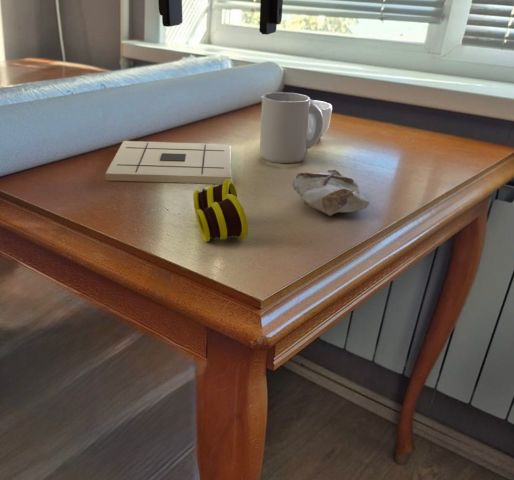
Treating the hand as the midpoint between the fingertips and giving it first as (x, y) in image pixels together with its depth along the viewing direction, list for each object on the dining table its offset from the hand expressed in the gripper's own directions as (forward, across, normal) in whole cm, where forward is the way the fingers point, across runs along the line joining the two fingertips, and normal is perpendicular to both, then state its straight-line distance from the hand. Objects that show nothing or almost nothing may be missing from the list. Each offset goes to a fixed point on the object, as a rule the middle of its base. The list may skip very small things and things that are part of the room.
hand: (219, 29), depth 57 cm
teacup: (+21, -1, +46) cm, 51 cm away
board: (+20, -16, +22) cm, 34 cm away
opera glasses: (+21, 0, +1) cm, 21 cm away
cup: (+21, -1, +34) cm, 40 cm away
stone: (+21, +9, +15) cm, 27 cm away
